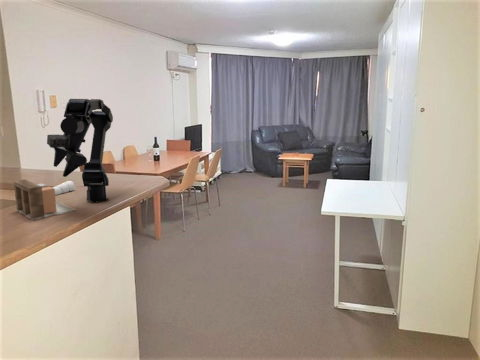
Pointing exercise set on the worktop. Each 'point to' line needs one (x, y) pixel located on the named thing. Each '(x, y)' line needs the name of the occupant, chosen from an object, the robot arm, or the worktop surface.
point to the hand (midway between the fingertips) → (59, 171)
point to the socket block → (34, 201)
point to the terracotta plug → (49, 199)
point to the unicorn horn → (64, 187)
